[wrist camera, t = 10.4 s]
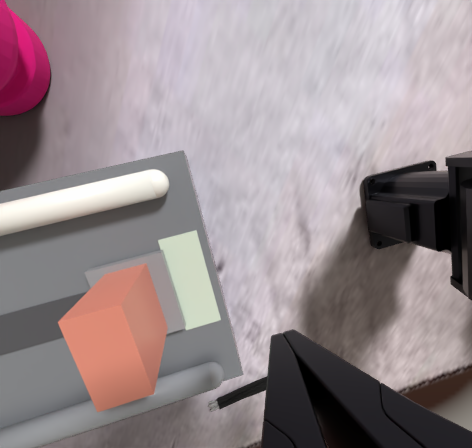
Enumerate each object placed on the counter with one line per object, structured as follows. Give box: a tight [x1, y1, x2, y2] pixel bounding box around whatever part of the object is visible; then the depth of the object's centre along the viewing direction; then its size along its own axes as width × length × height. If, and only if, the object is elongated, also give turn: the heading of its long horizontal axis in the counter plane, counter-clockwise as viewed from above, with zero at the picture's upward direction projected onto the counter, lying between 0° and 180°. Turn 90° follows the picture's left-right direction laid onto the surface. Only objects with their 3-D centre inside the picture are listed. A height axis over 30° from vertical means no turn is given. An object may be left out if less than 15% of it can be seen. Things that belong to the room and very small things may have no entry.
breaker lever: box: [58, 250, 186, 412], centre depth 12 cm, size 4×5×5 cm
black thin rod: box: [209, 377, 267, 412], centre depth 23 cm, size 12×1×1 cm, turn 108°
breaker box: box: [0, 151, 243, 448], centre depth 16 cm, size 18×16×6 cm
